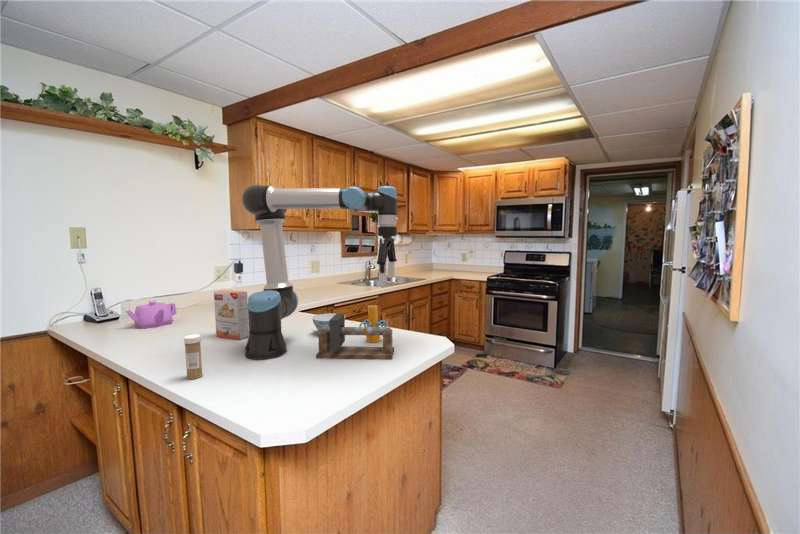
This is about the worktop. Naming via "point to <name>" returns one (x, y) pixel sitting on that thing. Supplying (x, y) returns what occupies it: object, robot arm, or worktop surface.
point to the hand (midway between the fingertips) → (387, 279)
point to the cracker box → (231, 314)
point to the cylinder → (373, 323)
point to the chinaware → (323, 320)
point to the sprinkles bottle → (193, 356)
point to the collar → (336, 331)
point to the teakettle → (153, 314)
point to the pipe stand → (355, 351)
